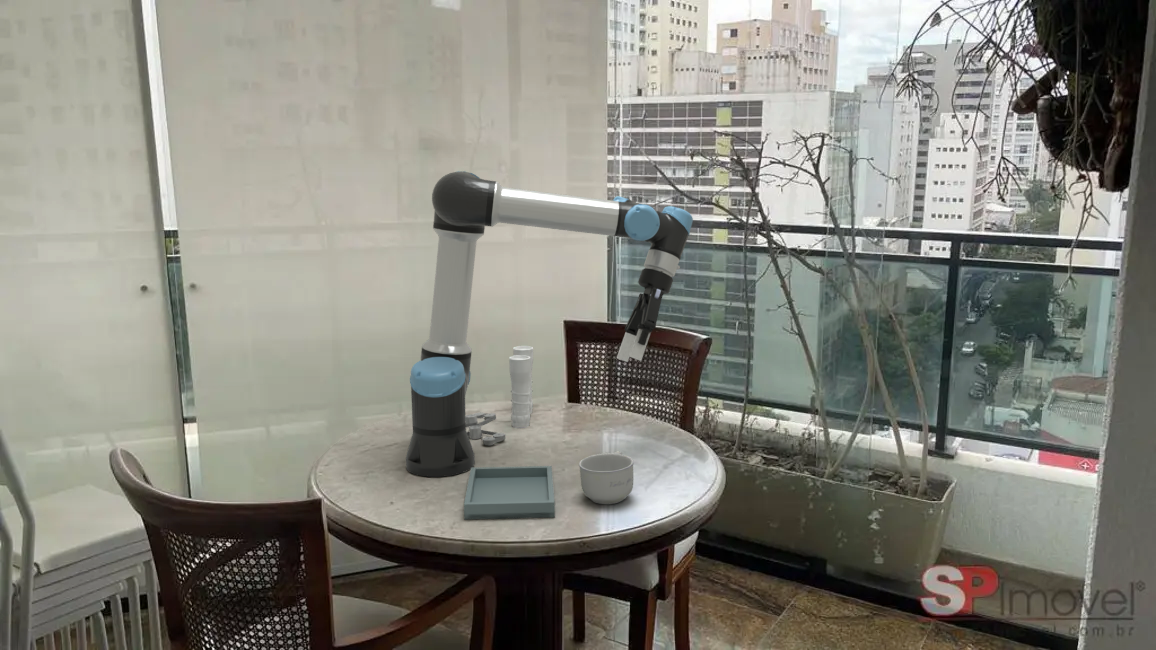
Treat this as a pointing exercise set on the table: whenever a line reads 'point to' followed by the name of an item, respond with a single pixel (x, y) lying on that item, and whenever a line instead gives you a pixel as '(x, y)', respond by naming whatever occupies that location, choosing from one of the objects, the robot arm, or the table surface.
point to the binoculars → (521, 385)
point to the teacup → (607, 477)
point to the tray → (510, 493)
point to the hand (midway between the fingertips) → (628, 359)
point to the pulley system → (476, 430)
